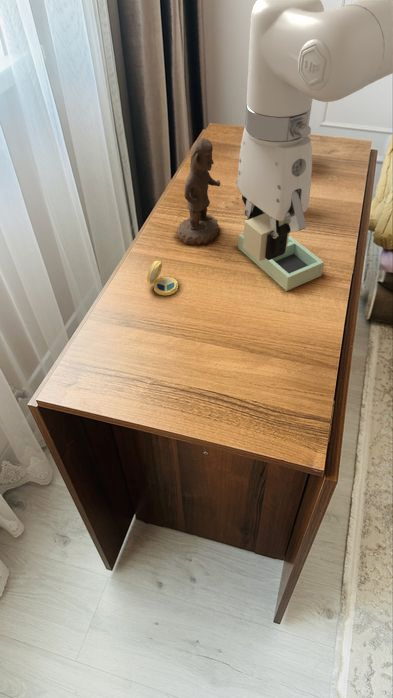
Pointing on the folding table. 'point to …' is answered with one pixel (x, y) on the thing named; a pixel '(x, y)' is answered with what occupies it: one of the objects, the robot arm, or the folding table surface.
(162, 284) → the eyeshadow
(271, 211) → the robot arm
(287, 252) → the pad tray
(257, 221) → the beige block
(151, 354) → the folding table surface
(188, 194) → the figurine
